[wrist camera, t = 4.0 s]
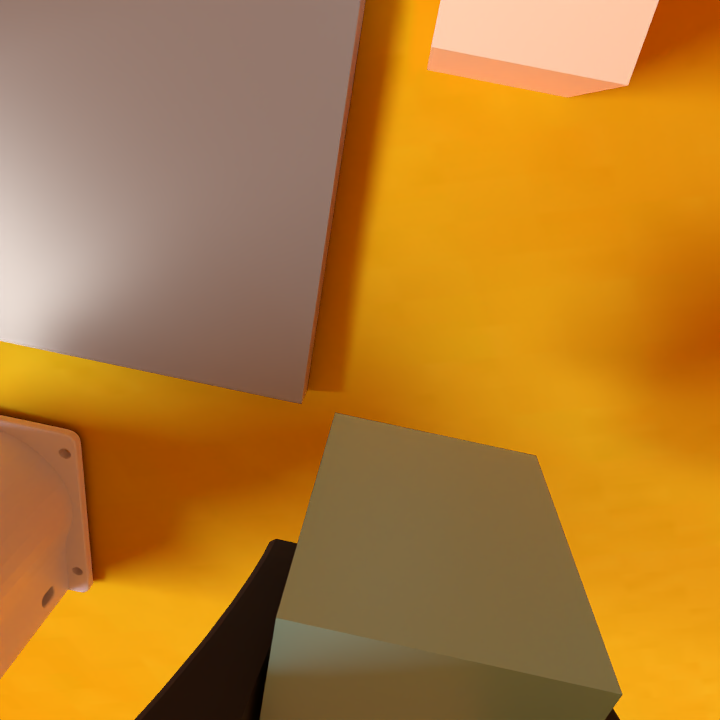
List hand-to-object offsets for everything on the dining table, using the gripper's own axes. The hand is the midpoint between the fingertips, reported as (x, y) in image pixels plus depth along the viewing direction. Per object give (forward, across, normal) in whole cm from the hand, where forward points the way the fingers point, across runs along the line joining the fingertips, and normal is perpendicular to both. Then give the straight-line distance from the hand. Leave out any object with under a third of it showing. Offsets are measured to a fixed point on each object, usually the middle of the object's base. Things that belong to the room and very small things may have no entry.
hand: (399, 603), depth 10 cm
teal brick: (+2, 0, 0) cm, 2 cm away
